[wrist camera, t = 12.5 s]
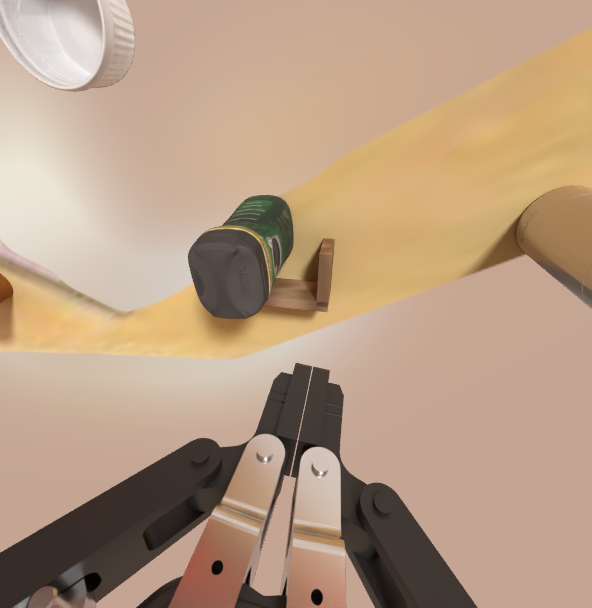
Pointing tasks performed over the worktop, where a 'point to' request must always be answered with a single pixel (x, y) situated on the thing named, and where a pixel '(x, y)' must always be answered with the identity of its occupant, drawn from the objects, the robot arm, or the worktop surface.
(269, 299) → the bracket
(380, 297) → the worktop surface
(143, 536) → the robot arm
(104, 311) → the worktop surface
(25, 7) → the ramekin
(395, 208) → the worktop surface
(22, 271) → the worktop surface
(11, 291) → the disposable coffee cup
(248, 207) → the coffee jar
